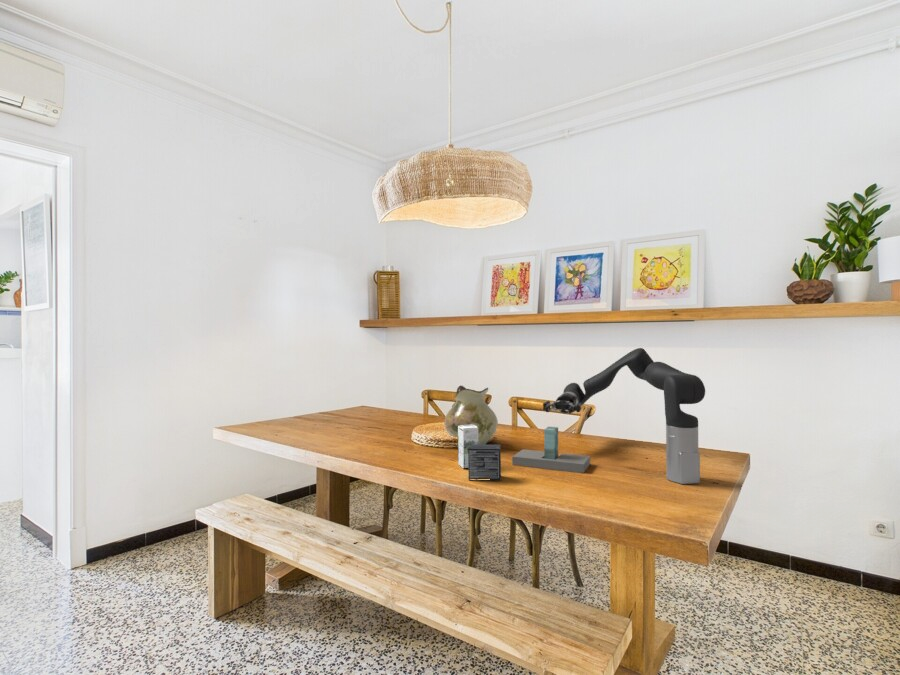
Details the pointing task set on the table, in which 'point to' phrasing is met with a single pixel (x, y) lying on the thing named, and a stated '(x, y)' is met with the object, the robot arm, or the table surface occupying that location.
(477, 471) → the small box
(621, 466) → the table surface
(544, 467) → the slotted block
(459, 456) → the syrup box
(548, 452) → the mint green pillar
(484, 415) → the pitcher
